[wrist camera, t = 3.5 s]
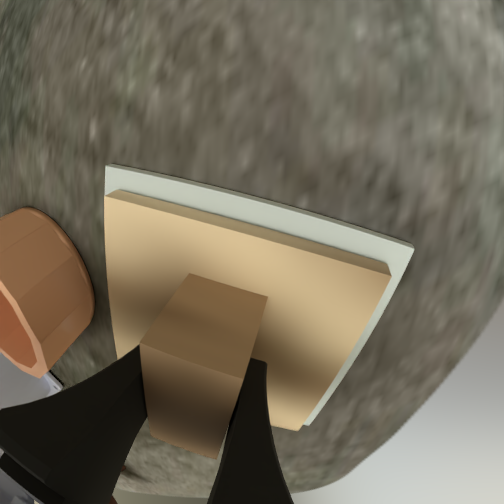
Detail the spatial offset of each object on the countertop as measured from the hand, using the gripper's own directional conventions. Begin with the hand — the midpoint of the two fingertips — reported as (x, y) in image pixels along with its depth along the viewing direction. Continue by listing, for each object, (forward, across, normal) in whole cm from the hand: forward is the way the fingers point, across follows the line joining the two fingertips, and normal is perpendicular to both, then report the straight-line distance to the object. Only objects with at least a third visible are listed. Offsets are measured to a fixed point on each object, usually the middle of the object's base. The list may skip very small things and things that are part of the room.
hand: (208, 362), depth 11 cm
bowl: (+2, +11, +1) cm, 11 cm away
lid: (+2, 0, 0) cm, 2 cm away
